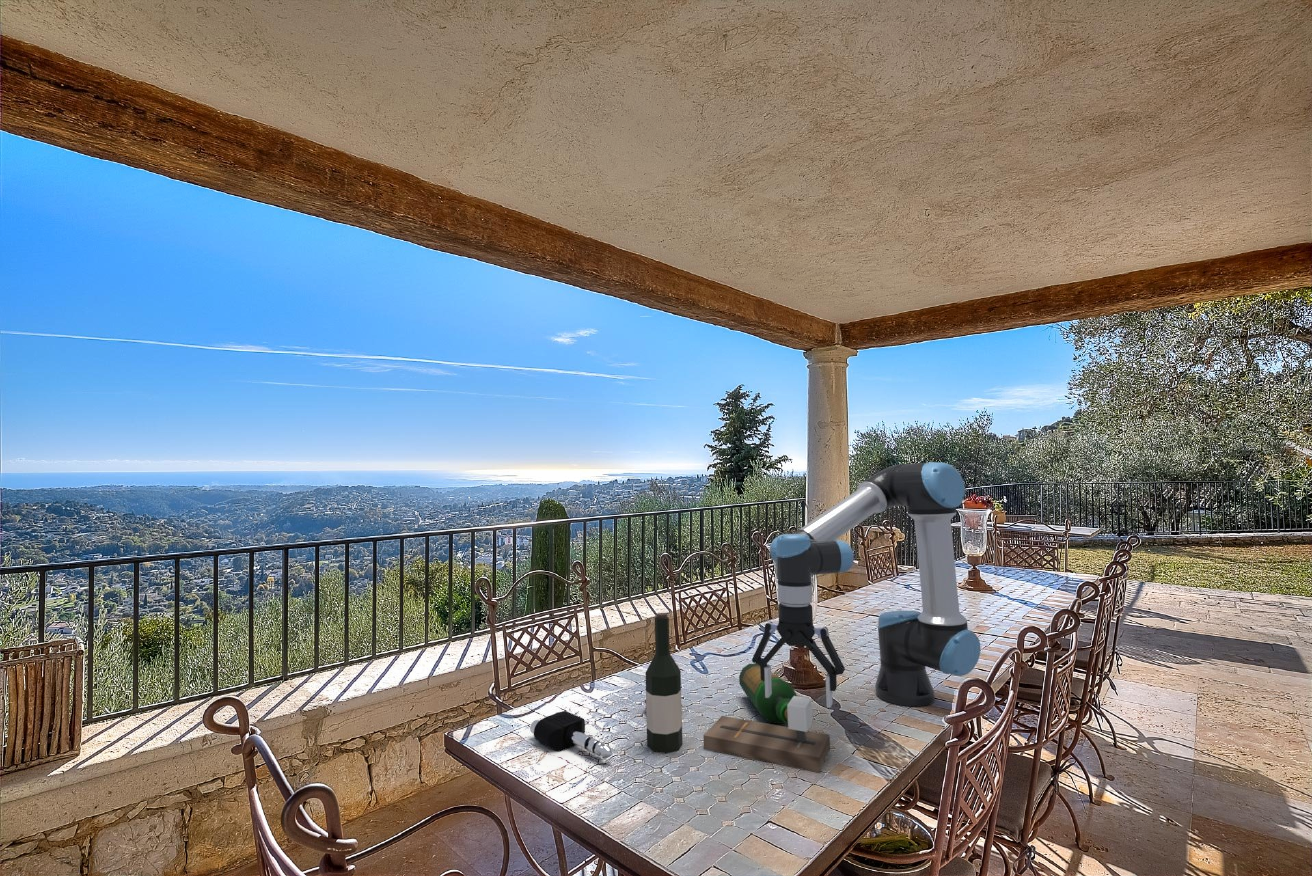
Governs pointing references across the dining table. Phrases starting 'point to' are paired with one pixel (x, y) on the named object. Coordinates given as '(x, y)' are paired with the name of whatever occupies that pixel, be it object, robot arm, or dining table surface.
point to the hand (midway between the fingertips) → (798, 700)
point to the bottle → (755, 690)
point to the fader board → (767, 743)
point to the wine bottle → (663, 694)
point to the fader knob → (800, 716)
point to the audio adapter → (567, 734)
